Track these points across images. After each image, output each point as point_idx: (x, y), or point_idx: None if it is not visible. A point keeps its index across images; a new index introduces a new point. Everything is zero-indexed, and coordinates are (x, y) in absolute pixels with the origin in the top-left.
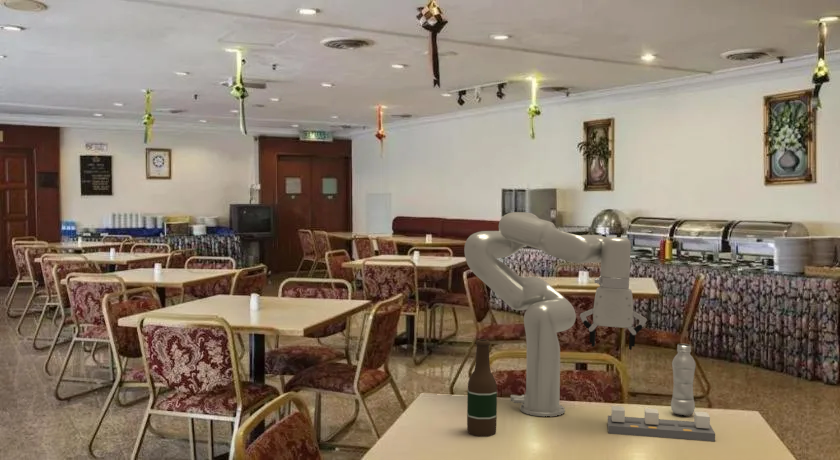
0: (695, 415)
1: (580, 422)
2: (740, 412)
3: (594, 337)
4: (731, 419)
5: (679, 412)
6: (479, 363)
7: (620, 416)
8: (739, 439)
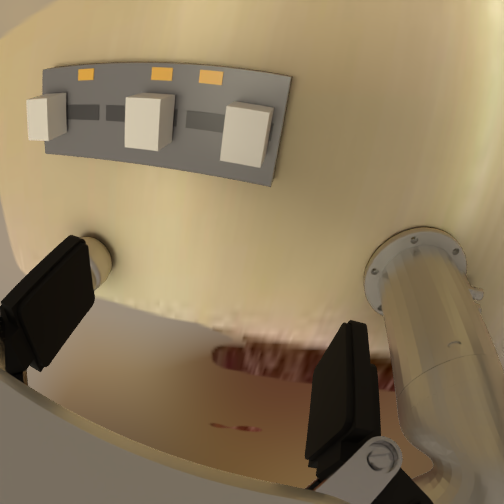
0: (50, 118)
1: (350, 180)
2: (27, 266)
3: (348, 381)
4: (31, 227)
5: (96, 241)
6: None
7: (244, 105)
8: (21, 99)
